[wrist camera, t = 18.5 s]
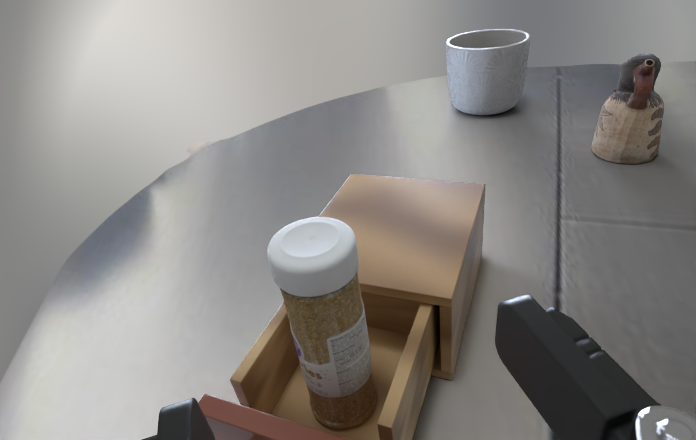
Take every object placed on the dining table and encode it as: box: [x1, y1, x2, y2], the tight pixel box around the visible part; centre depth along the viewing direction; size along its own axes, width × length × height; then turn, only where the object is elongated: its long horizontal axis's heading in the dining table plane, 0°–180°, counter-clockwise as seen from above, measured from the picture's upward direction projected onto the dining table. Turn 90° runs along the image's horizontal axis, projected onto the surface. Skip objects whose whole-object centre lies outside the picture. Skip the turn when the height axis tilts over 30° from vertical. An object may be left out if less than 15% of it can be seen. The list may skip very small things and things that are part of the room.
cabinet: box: [319, 174, 485, 380], centre depth 38 cm, size 15×13×8 cm
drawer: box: [198, 291, 440, 440], centre depth 28 cm, size 18×11×6 cm, turn 158°
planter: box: [446, 29, 530, 115], centre depth 72 cm, size 12×12×11 cm
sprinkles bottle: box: [267, 217, 377, 429], centre depth 26 cm, size 5×5×13 cm
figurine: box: [592, 54, 664, 164], centre depth 53 cm, size 7×7×12 cm
